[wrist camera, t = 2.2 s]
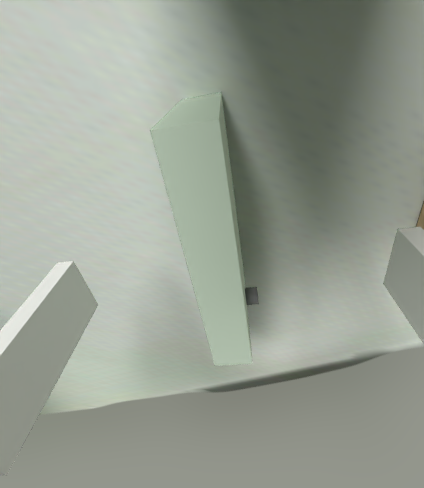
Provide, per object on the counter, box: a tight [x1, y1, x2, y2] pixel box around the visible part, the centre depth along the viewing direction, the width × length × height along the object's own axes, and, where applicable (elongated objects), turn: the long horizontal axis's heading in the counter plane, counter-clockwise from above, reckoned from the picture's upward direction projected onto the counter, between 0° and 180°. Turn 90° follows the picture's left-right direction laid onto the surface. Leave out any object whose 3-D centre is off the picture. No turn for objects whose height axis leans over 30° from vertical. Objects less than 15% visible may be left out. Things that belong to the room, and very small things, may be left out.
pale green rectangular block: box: [150, 92, 258, 366], centre depth 14 cm, size 3×12×7 cm, turn 9°
